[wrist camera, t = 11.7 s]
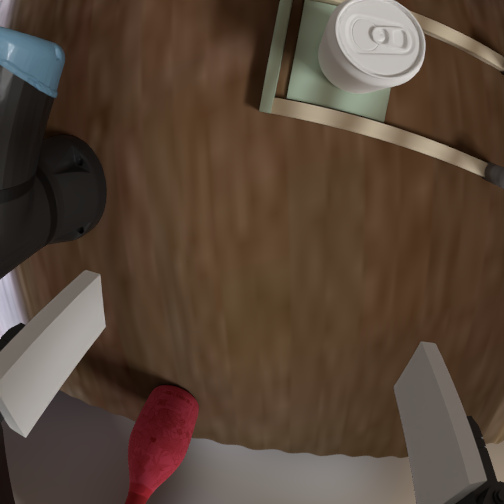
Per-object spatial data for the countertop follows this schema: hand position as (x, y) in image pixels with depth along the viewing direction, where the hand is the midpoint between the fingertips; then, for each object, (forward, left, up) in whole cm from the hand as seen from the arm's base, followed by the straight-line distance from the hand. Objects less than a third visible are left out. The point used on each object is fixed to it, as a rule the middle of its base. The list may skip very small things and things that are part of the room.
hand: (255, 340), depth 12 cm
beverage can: (+5, +16, -27) cm, 31 cm away
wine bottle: (-11, -42, -27) cm, 51 cm away
